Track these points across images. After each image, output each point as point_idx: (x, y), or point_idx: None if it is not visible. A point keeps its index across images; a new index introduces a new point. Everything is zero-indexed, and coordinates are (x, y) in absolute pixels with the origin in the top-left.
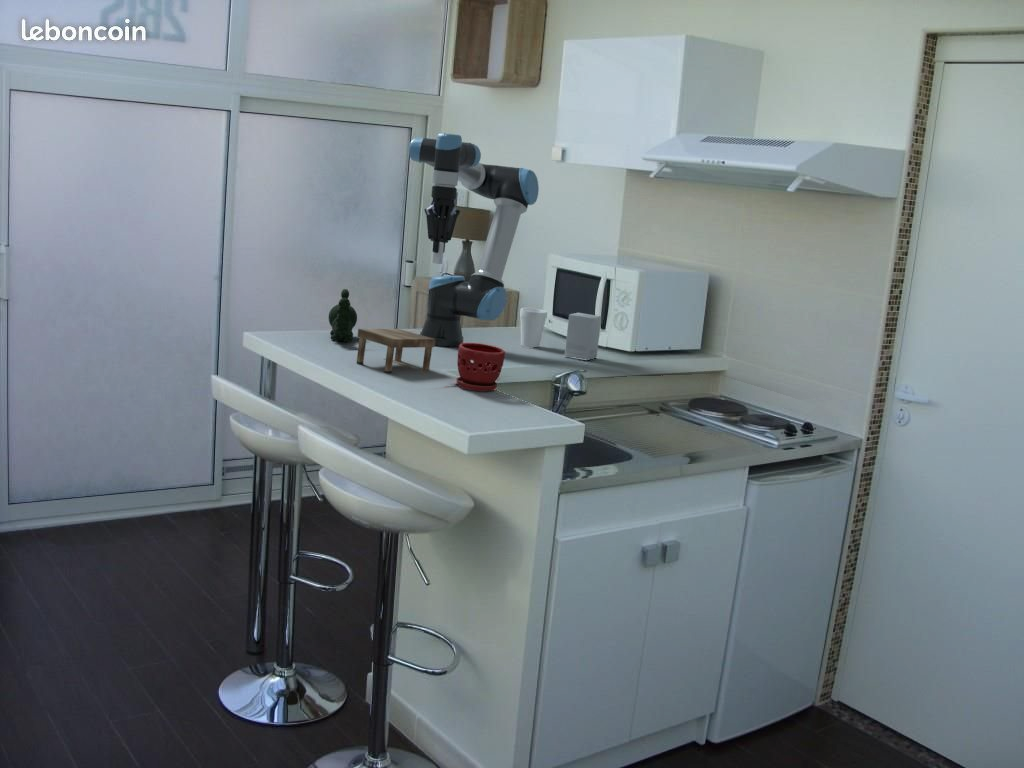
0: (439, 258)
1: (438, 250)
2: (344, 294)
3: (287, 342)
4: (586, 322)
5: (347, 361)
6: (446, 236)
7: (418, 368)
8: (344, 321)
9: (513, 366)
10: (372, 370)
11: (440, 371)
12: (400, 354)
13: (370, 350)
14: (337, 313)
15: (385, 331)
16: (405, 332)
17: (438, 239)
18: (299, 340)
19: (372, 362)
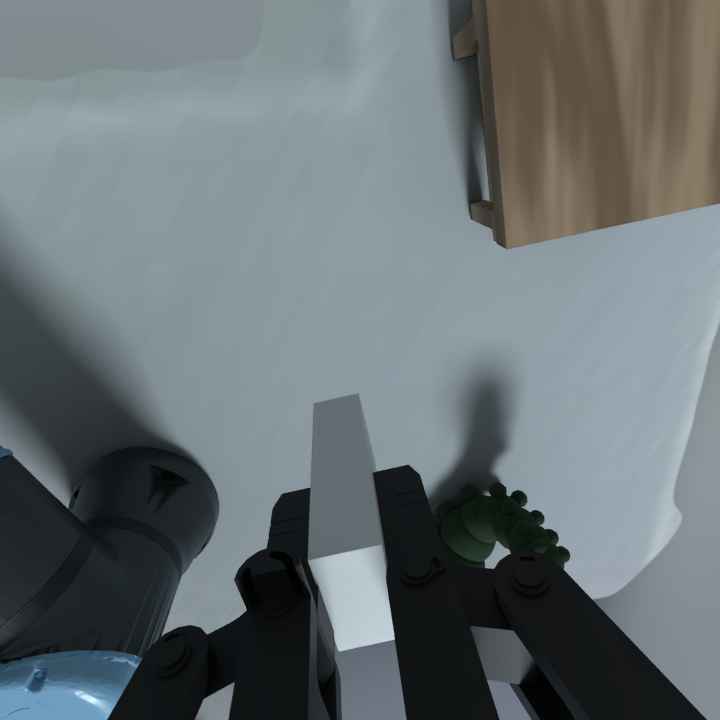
0: (356, 422)
1: (374, 489)
2: None
3: (616, 497)
4: None
5: (613, 262)
6: (251, 676)
7: None
8: (519, 508)
9: (16, 129)
10: None
11: (383, 71)
12: (483, 204)
13: (444, 406)
14: None
15: (634, 161)
16: (537, 159)
17: (436, 583)
18: (569, 519)
19: (543, 242)
